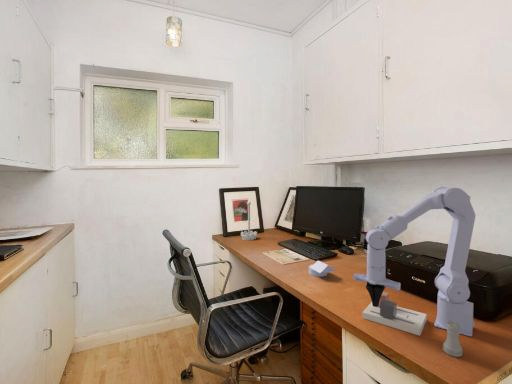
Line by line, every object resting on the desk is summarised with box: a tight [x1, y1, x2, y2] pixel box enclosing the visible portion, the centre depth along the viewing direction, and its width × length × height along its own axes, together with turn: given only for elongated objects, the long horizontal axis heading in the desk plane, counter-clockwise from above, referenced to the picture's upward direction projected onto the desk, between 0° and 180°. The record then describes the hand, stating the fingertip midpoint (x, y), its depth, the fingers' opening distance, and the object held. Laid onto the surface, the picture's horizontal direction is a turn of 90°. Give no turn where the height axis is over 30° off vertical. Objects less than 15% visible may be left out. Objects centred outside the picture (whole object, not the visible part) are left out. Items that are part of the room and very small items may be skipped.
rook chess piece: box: [442, 321, 464, 358], centre depth 74 cm, size 4×4×8 cm
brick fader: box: [378, 291, 390, 306], centre depth 98 cm, size 4×4×4 cm
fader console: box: [361, 301, 428, 336], centre depth 92 cm, size 17×12×2 cm
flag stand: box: [240, 201, 258, 241], centre depth 220 cm, size 13×13×30 cm
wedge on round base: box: [308, 260, 336, 277], centre depth 136 cm, size 9×7×13 cm
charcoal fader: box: [380, 299, 398, 319], centre depth 90 cm, size 4×4×4 cm
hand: (375, 305), depth 92 cm, fingers closed
